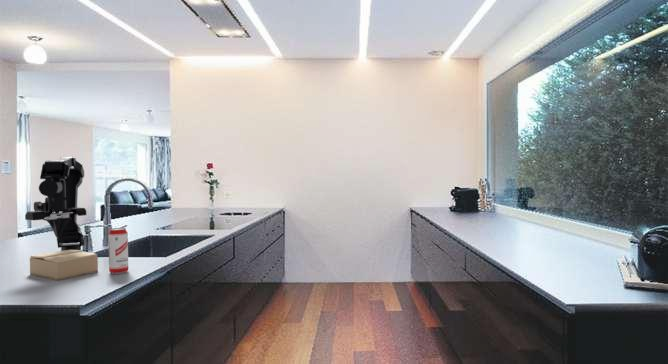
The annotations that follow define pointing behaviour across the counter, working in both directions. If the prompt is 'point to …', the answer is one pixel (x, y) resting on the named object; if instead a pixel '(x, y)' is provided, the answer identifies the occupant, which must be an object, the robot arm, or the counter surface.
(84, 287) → the counter surface
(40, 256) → the flap
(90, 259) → the cardboard box
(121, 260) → the beer can
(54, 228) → the robot arm
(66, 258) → the flap
